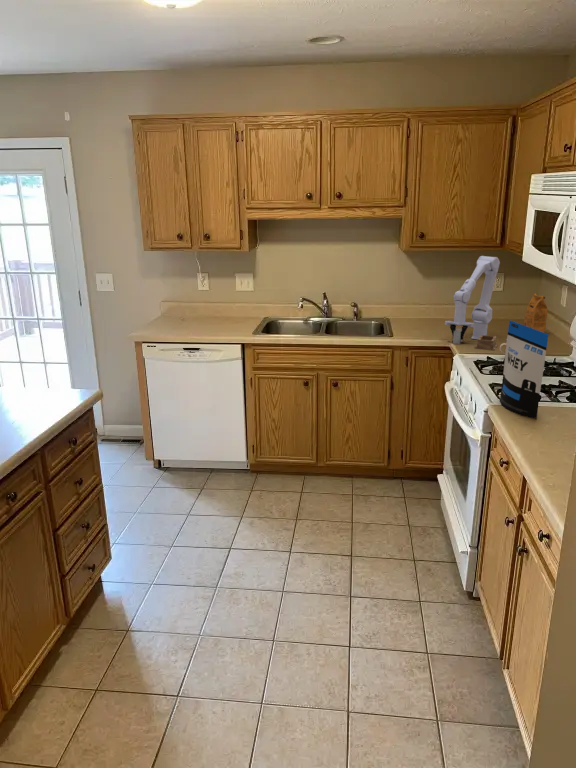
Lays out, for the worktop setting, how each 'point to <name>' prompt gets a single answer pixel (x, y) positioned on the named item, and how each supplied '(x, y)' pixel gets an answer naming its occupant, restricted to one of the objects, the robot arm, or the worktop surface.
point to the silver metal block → (457, 336)
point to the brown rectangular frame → (486, 342)
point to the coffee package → (536, 314)
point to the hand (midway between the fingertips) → (457, 339)
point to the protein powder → (523, 369)
